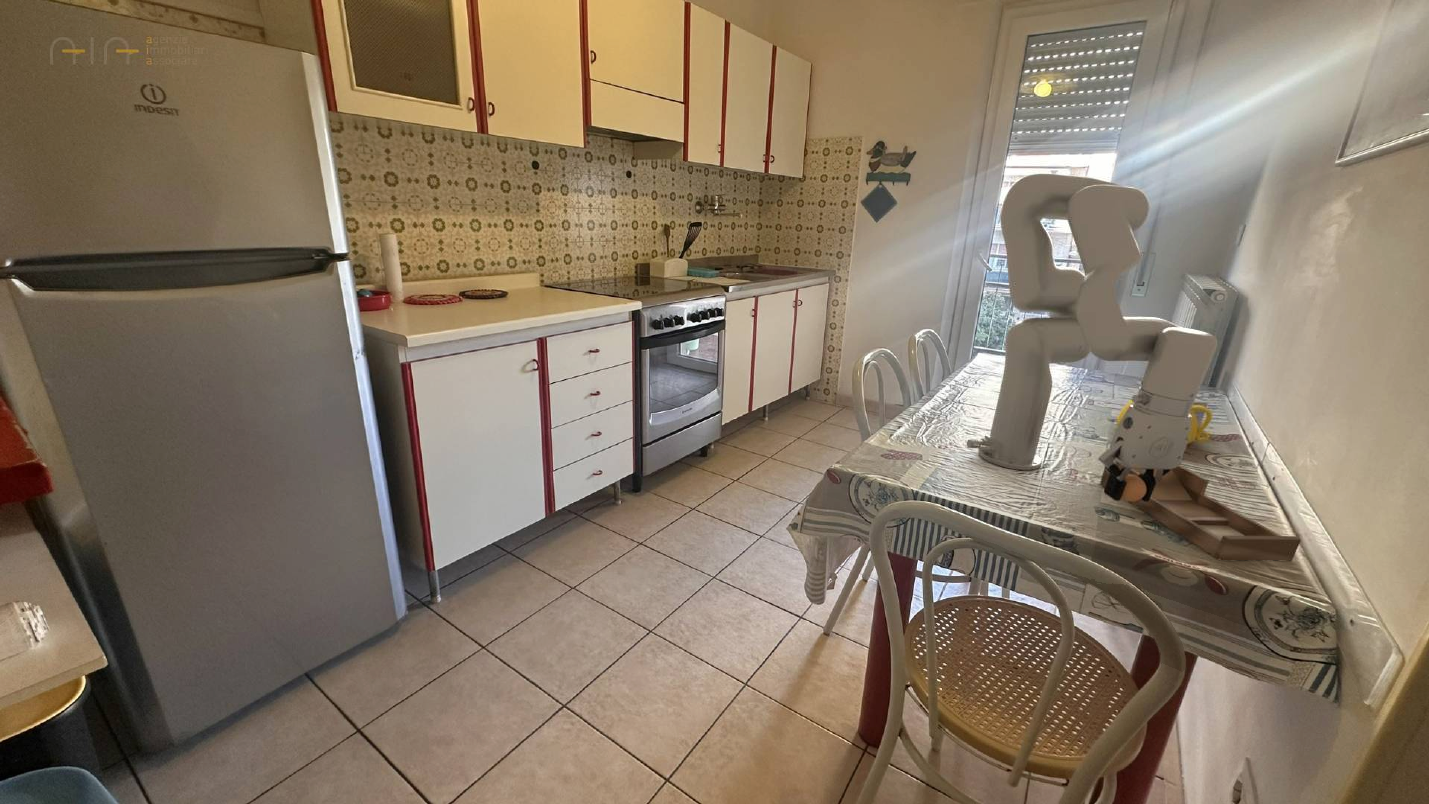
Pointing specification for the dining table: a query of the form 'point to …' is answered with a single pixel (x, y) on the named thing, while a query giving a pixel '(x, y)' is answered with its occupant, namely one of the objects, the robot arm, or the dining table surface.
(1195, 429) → the teapot
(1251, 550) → the lane
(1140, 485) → the ball
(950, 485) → the dining table surface
